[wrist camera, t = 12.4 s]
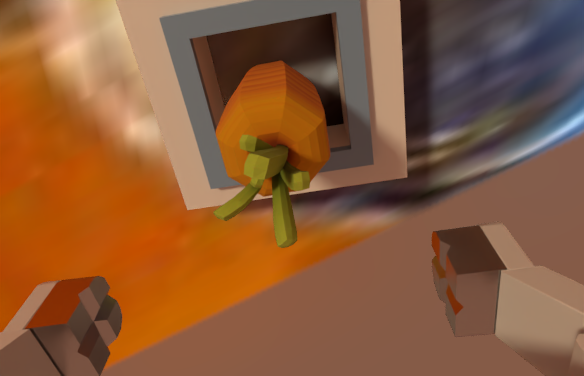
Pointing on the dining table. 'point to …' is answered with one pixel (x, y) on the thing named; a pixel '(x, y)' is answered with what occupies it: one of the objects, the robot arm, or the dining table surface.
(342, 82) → the duct block
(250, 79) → the carrot
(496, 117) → the dining table surface
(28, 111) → the dining table surface
